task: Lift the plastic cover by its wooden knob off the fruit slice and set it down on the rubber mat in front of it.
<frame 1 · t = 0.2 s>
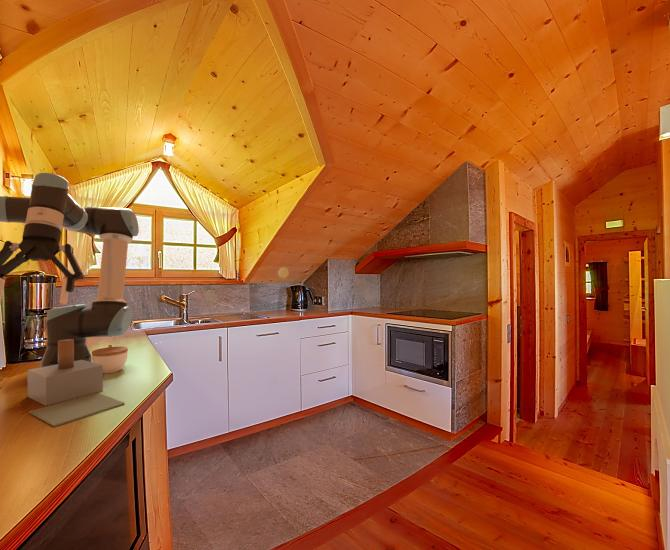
hand: (30, 304, 82), 27 cm above the countertop, tool tilted 15°, fingers open, 13 cm apart
lidded jar: (110, 371, 117), on the countertop
cover: (65, 393, 94), on the countertop
fruit slice: (65, 394, 94), on the countertop
mat: (78, 408, 83), on the countertop
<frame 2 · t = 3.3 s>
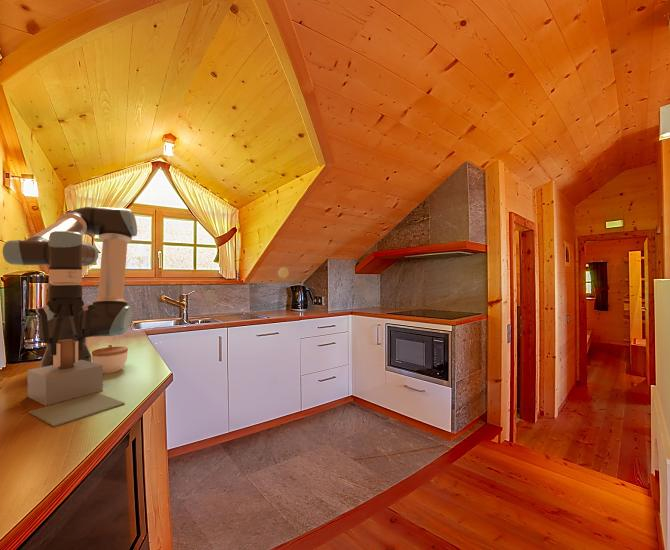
hand: (65, 364, 94), 9 cm above the countertop, tool pointing down, fingers closed on cover, 4 cm apart
cover: (65, 393, 94), on the countertop, touching gripper
everything else where it was.
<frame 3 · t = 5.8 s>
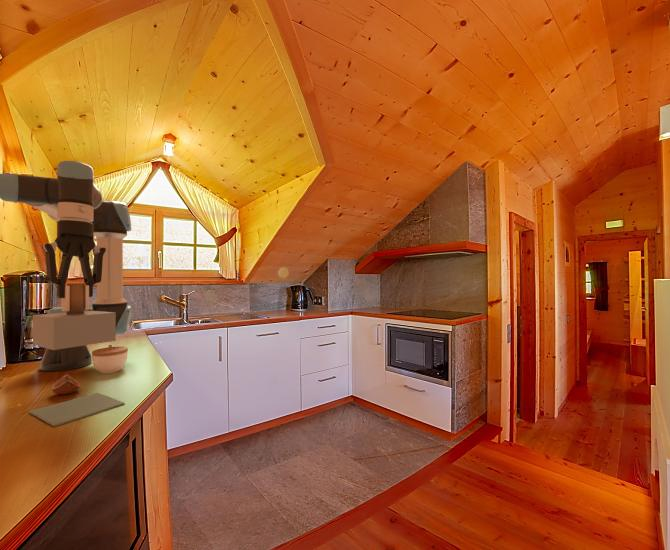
hand: (75, 310, 85), 25 cm above the countertop, tool pointing down, fingers closed on cover, 4 cm apart
cover: (75, 342, 84), point 17 cm above the countertop, touching gripper
everything else where it was.
when the fingers open (10 cm above the countertop, at t = 8.5 s): cover drops 1 cm, resting on mat.
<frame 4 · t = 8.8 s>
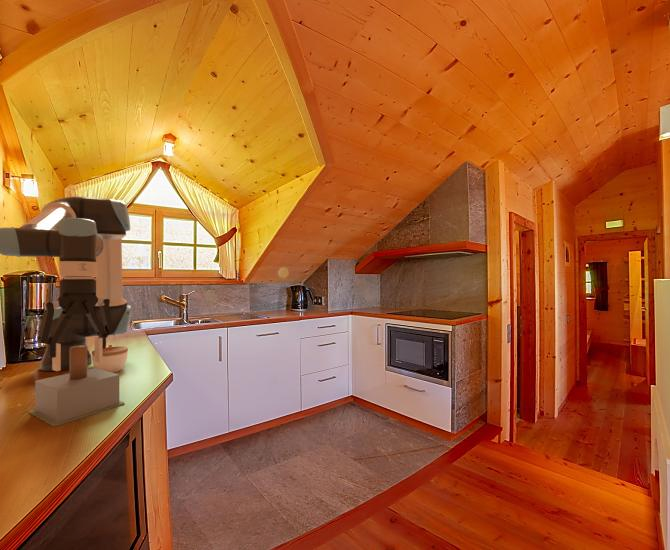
hand: (78, 365, 83), 11 cm above the countertop, tool pointing down, fingers open, 8 cm apart
cover: (78, 406, 83), resting on mat
everything else where it was.
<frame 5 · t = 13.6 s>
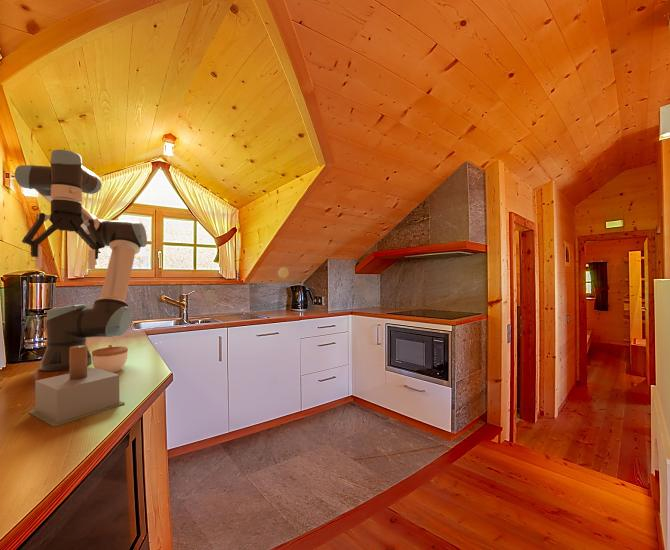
hand: (66, 268, 101), 37 cm above the countertop, tool pointing down, fingers open, 13 cm apart
nothing on the countertop moved.
at the end: cover inside the target area on the mat (0.0 cm from its centre), point 0.4 cm above the mat's base; cover tilted 0°; the gripper is holding nothing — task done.
